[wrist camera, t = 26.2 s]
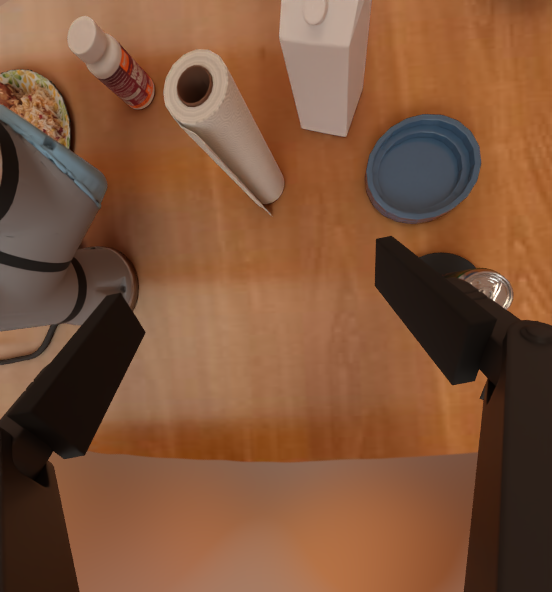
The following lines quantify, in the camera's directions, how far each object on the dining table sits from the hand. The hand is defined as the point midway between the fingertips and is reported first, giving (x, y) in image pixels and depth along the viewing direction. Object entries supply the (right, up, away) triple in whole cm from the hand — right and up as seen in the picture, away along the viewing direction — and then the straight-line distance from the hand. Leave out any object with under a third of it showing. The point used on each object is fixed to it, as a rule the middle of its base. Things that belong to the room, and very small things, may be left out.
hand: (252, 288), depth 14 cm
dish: (+21, +16, +23) cm, 35 cm away
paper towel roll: (-1, +17, +29) cm, 33 cm away
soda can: (+23, 0, +22) cm, 32 cm away
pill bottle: (-23, +36, +34) cm, 55 cm away
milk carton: (+10, +27, +26) cm, 39 cm away
